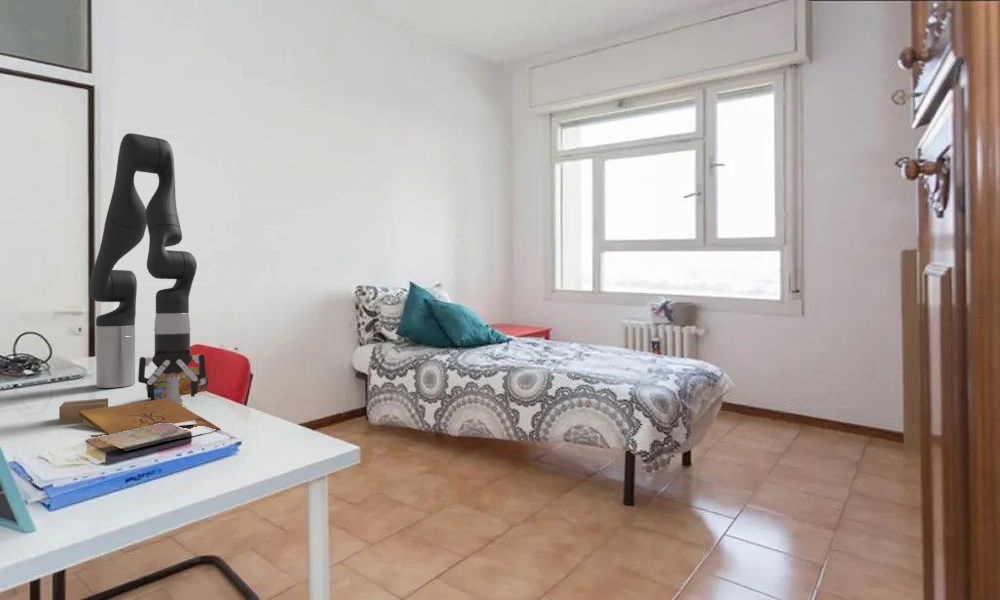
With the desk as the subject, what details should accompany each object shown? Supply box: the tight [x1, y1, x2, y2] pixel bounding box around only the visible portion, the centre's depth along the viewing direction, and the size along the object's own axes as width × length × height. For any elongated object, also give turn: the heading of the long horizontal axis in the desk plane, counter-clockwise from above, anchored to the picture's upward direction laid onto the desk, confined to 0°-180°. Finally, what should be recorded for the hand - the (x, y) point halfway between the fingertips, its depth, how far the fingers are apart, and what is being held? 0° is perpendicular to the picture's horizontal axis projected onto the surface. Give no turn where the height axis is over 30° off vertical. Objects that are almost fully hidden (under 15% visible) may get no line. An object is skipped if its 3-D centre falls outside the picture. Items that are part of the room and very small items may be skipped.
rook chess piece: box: [165, 374, 184, 407], centre depth 139 cm, size 4×4×8 cm
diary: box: [79, 398, 222, 437], centre depth 121 cm, size 23×19×6 cm
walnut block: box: [58, 397, 109, 425], centre depth 125 cm, size 8×8×4 cm
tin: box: [145, 366, 209, 400], centre depth 151 cm, size 15×3×8 cm, turn 144°
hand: (172, 398), depth 139 cm, fingers open, 8 cm apart
